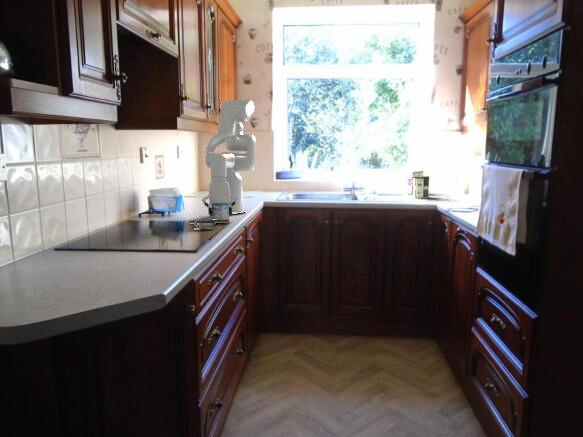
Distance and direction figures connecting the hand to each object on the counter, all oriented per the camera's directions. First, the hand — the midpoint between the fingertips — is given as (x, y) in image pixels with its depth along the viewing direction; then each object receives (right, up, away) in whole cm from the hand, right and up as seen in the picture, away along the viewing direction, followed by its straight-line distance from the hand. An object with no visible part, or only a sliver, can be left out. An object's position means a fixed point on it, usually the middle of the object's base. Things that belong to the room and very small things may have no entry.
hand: (220, 215), depth 216 cm
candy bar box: (+122, +16, +102) cm, 160 cm away
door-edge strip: (-4, -4, -7) cm, 9 cm away
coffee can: (+120, +12, +81) cm, 145 cm away
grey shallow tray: (-5, -5, -15) cm, 17 cm away
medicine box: (0, -3, 0) cm, 3 cm away
